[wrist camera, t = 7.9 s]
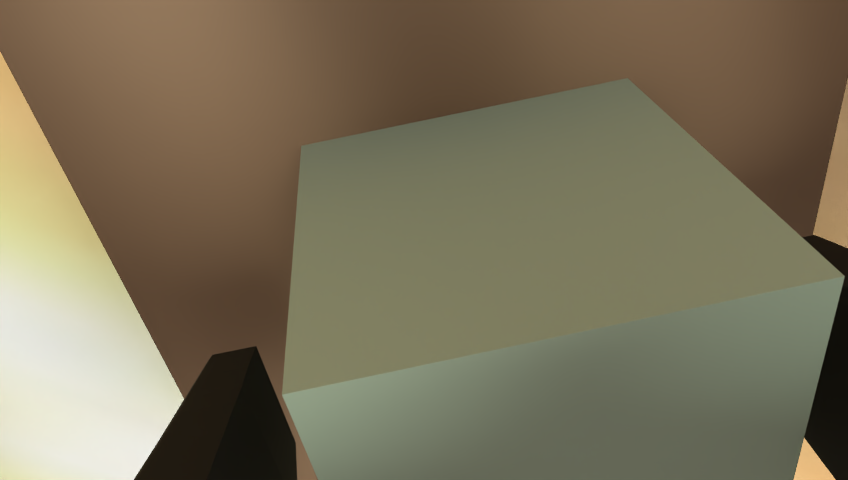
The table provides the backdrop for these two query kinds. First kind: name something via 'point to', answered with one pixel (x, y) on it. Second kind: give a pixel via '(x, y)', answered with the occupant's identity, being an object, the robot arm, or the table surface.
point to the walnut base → (373, 118)
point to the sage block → (548, 302)
